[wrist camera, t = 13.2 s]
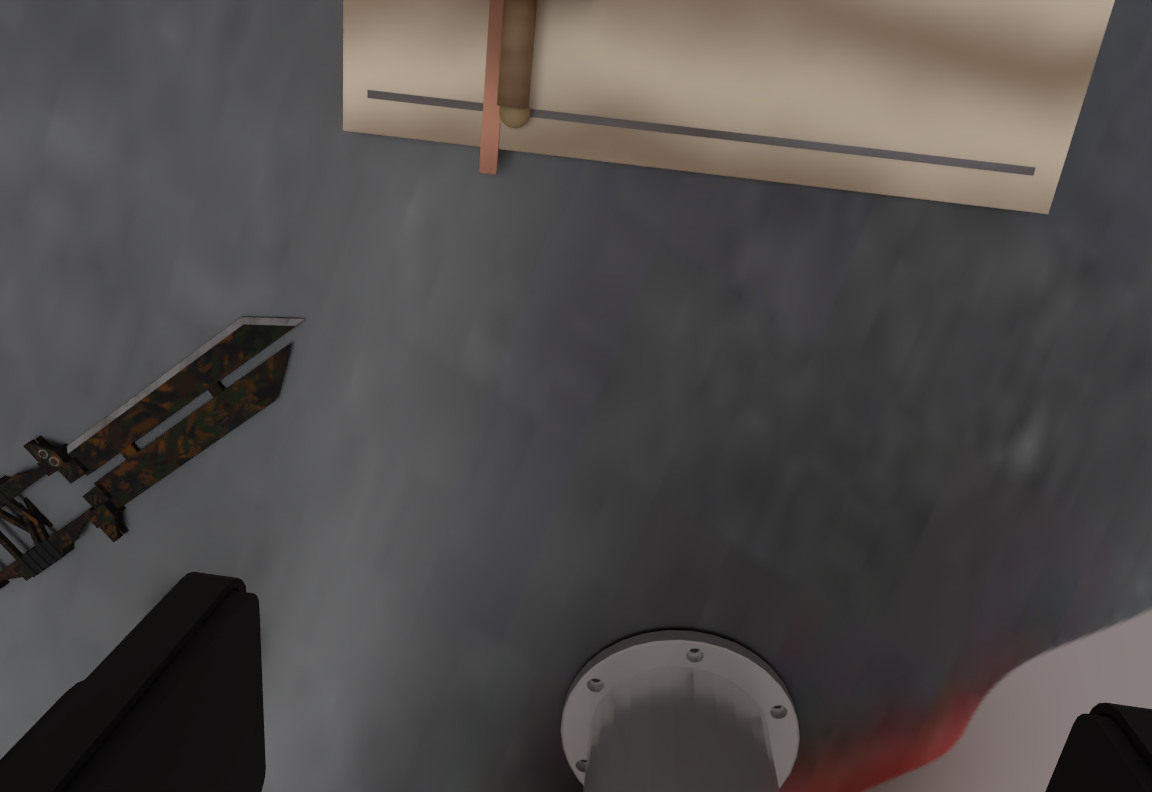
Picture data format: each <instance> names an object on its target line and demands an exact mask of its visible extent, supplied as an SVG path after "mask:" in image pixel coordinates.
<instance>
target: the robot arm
mask: <svg viewBox="0 0 1152 792" xmlns="http://www.w3.org/2000/svg"><path fill="white" fill-rule="evenodd" d="M561 738H562V747H563V750H564V753H565V756H566V759H567V761H568V764H569V766H570V767H571V769H572V771H573V772H574V774H575V776H576V777H577V779H578V780H579V781H580V782H581V783H582V785H583V786H584V790H583V792H780V791H779V789H780V788H781V786H782V785H783V783H784V782H785V780H786V779H787V778H788V776H789V775H790V773H791V771H792V768H793V766H794V763H795V761H796V758H797V755H798V747H799V740H800V736H799V727H798V719H797V715H796V711H795V708H794V704H793V700H792V698H791V696H790V694H789V692H788V690H787V688H786V686H785V684H784V682H783V681H782V680H781V679H780V677H779V676H778V675H777V674H776V673H775V671H774V670H773V669H772V668H771V667H770V666H769V665H768V664H767V663H766V662H764V661H763V660H762V659H761V658H759V657H758V656H757V655H756V654H755V653H753V652H751V651H749V650H747V649H746V648H744V647H742V646H740V645H739V644H737V643H735V642H732V641H729V640H726V639H724V638H721V637H718V636H715V635H711V634H706V633H700V632H695V631H679V630H665V631H658V632H650V633H644V634H641V635H637V636H634V637H631V638H628V639H624V640H622V641H620V642H618V643H616V644H614V645H612V646H610V647H608V648H606V649H604V650H603V651H602V652H600V653H599V654H598V655H597V656H595V657H594V658H593V659H591V660H590V661H589V662H588V663H587V664H586V665H585V666H584V667H583V669H582V670H581V671H580V672H579V673H578V675H577V676H576V677H575V679H574V681H573V683H572V684H571V686H570V688H569V690H568V692H567V695H566V699H565V703H564V707H563V712H562V721H561ZM265 770H266V764H265V739H264V714H263V688H262V663H261V638H260V613H259V600H258V597H257V595H255V594H254V593H247V592H246V586H245V584H244V582H243V580H241V579H239V578H234V577H227V576H220V575H213V574H206V573H199V572H191V573H188V574H187V575H185V576H184V577H183V578H182V579H181V580H180V581H179V582H178V583H177V584H176V585H175V586H174V587H173V588H172V589H171V590H170V591H169V592H168V593H167V594H166V595H165V596H164V598H163V599H162V600H161V601H160V602H159V603H158V604H157V605H156V606H155V607H154V608H153V609H152V610H151V611H150V612H149V613H148V614H147V615H146V616H145V617H144V618H143V619H142V621H141V622H140V623H139V624H138V625H137V626H136V627H135V628H134V629H133V630H132V631H131V632H130V633H129V634H128V635H127V636H126V637H125V638H124V639H123V640H122V641H121V642H120V644H119V645H118V646H117V647H116V648H115V649H114V650H113V651H112V652H111V653H110V654H109V655H108V656H107V657H106V658H105V659H104V660H103V661H102V662H101V663H100V664H99V665H98V667H97V668H96V669H95V670H94V671H93V672H92V673H91V674H90V675H89V676H88V677H87V678H86V679H85V680H83V681H81V682H78V683H77V684H75V685H74V686H73V687H72V688H71V689H69V690H68V691H67V692H66V693H65V694H64V695H63V696H62V697H61V698H60V699H59V700H58V701H57V702H56V703H55V704H54V705H53V706H52V707H51V708H50V709H49V710H48V711H47V712H46V713H45V714H44V715H43V716H42V717H41V718H40V719H39V720H38V721H37V722H36V724H35V725H34V726H33V727H32V728H31V729H30V730H29V731H28V732H27V733H26V734H25V735H24V736H23V737H22V738H21V739H20V740H19V741H18V742H17V743H16V744H15V745H14V746H13V747H12V748H11V749H10V750H9V751H8V752H7V753H6V755H5V756H4V757H3V758H2V759H1V760H0V792H261V791H262V787H263V784H264V779H265ZM1046 792H1152V709H1146V708H1138V707H1132V706H1125V705H1118V704H1111V703H1099V704H1097V705H1096V706H1095V707H1094V708H1092V710H1091V711H1090V713H1089V714H1081V715H1080V716H1079V717H1077V719H1076V720H1075V722H1074V724H1073V726H1072V729H1071V731H1070V734H1069V736H1068V739H1067V741H1066V743H1065V746H1064V748H1063V750H1062V753H1061V755H1060V758H1059V760H1058V763H1057V765H1056V767H1055V770H1054V772H1053V775H1052V777H1051V779H1050V782H1049V784H1048V787H1047V789H1046Z"/></svg>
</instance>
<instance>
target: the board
mask: <svg viewBox="0 0 1152 792" xmlns="http://www.w3.org/2000/svg"><path fill="white" fill-rule="evenodd" d="M1114 1H1115V0H537V11H536V24H535V36H534V48H533V61H532V73H531V85H530V98H529V107H530V118H529V120H528V122H527V123H526V124H525V125H524V126H522V127H520V128H510V127H508V126H506V125H505V124H504V123H503V122H502V120H501V118H500V115H499V108H500V106H498V105H497V94H498V79H499V64H500V49H501V35H502V20H503V5H504V0H344V13H343V131H352V132H360V133H368V134H377V135H385V136H394V137H402V138H411V139H419V140H427V141H436V142H444V143H453V144H461V145H470V146H478V147H481V150H480V166H479V173H486V174H494V175H497V162H498V149H503V150H512V151H520V152H529V153H537V154H546V155H554V156H562V157H571V158H579V159H588V160H596V161H605V162H613V163H621V164H630V165H638V166H647V167H655V168H664V169H672V170H680V171H689V172H697V173H706V174H714V175H723V176H731V177H739V178H748V179H756V180H765V181H773V182H782V183H790V184H798V185H807V186H815V187H824V188H832V189H841V190H849V191H857V192H866V193H874V194H883V195H891V196H900V197H908V198H917V199H925V200H933V201H942V202H950V203H959V204H967V205H976V206H984V207H992V208H1001V209H1009V210H1018V211H1026V212H1035V213H1043V214H1048V213H1049V210H1050V207H1051V204H1052V200H1053V197H1054V194H1055V191H1056V187H1057V184H1058V181H1059V178H1060V175H1061V171H1062V168H1063V165H1064V162H1065V159H1066V155H1067V152H1068V149H1069V146H1070V142H1071V139H1072V136H1073V133H1074V130H1075V126H1076V123H1077V120H1078V117H1079V114H1080V110H1081V107H1082V104H1083V101H1084V97H1085V94H1086V91H1087V88H1088V85H1089V81H1090V78H1091V75H1092V72H1093V69H1094V65H1095V62H1096V59H1097V56H1098V52H1099V49H1100V46H1101V43H1102V40H1103V36H1104V33H1105V30H1106V27H1107V24H1108V20H1109V17H1110V14H1111V11H1112V8H1113V4H1114Z"/></svg>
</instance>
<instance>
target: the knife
mask: <svg viewBox="0 0 1152 792" xmlns="http://www.w3.org/2000/svg"><path fill="white" fill-rule="evenodd" d="M303 320H305V319H293V318H259V317H241V318H240V319H238V320H237V321H236V322H234V323H233V324H231V325H230V326H229V327H227V328H226V329H225V330H223V331H222V332H221V333H219V334H218V335H217V336H215V337H214V338H213V339H211V340H210V341H209V342H207V343H206V344H204V345H203V346H202V347H200V348H199V349H198V350H196V351H195V352H194V353H192V354H191V355H190V356H188V357H187V358H186V359H184V360H183V361H182V362H180V363H179V364H177V365H176V366H175V367H173V368H172V369H171V370H169V371H168V372H167V373H165V374H164V375H163V376H161V377H160V378H159V379H157V380H156V381H155V382H153V383H152V384H150V385H149V386H148V387H146V388H145V389H144V390H142V391H141V392H140V393H138V394H137V395H136V396H134V397H133V398H132V399H130V400H129V401H128V402H126V403H125V404H123V405H122V406H121V407H119V408H118V409H117V410H115V411H114V412H113V413H111V414H110V415H109V416H107V417H106V418H105V419H103V420H102V421H101V422H99V423H98V424H96V425H95V426H94V427H92V428H91V429H90V430H88V431H87V432H86V433H84V434H83V435H82V436H80V437H79V438H78V439H76V440H75V441H74V442H72V443H71V444H70V445H67V444H64V445H63V446H61V447H59V448H58V449H55V448H52V447H51V446H50V445H49V444H48V443H47V442H46V441H45V440H44V439H43V437H42V436H39V437H38V438H36V440H37V441H38V442H39V443H40V444H39V443H37V442H36V441H35V440H32V441H30V442H28V443H27V444H25V445H24V447H25V448H26V449H27V450H28V452H29V453H30V454H31V455H32V456H33V457H34V458H35V459H36V460H37V461H38V462H39V463H37V464H38V465H39V467H40V468H38V469H37V470H34V471H29V472H23V473H17V474H15V475H14V476H13V477H8V476H6V475H5V476H4V477H2V478H0V517H1V518H2V519H4V520H6V521H8V522H10V523H12V524H14V525H16V526H17V527H19V528H21V529H23V530H25V531H27V532H29V533H30V535H31V537H32V539H33V541H34V544H35V547H33V548H32V549H30V550H29V551H27V552H26V553H25V554H22V553H21V552H20V551H19V550H18V549H17V548H16V547H15V545H14V544H13V543H12V542H11V541H10V540H9V539H8V538H7V537H6V536H5V535H4V534H3V533H2V532H1V531H0V544H1V545H2V546H3V547H4V548H5V549H6V550H7V551H8V552H9V553H10V554H11V555H12V556H13V557H14V558H15V559H16V560H17V561H15V562H14V563H12V564H11V565H10V566H8V567H7V568H5V569H4V570H2V571H1V572H0V589H1V588H2V587H4V586H5V585H6V584H8V583H9V581H8V580H7V579H13V578H20V577H23V578H24V579H25V580H26V581H27V580H28V579H30V578H31V577H35V576H36V575H38V574H39V573H41V572H42V571H43V570H45V569H46V568H48V567H49V566H51V565H52V564H54V563H55V562H57V561H58V560H59V559H61V558H62V557H64V556H65V555H66V554H67V553H69V552H70V551H71V550H73V549H74V541H76V540H77V539H78V538H79V536H80V533H81V531H82V529H83V526H84V524H85V522H86V521H88V520H90V521H91V522H92V523H93V524H94V525H95V526H96V527H97V528H98V527H100V528H101V529H102V531H103V532H104V533H105V534H106V535H107V536H108V537H109V538H110V539H111V540H112V541H113V542H115V541H116V540H118V539H119V538H120V537H121V536H123V534H124V533H126V532H127V531H129V530H128V529H127V528H126V527H125V526H124V525H123V523H122V522H121V521H120V520H119V519H118V515H117V514H119V513H120V512H121V511H122V510H124V509H125V508H126V507H125V506H124V505H125V504H126V503H128V502H129V501H131V500H132V499H133V498H135V497H136V496H138V495H139V494H141V493H142V492H144V491H145V490H146V489H148V488H149V487H151V486H152V485H154V484H155V483H157V482H158V481H159V480H161V479H162V478H164V477H165V476H167V475H168V474H170V473H171V472H172V471H174V470H175V469H177V468H178V467H180V466H181V465H183V464H184V463H185V462H187V461H188V460H190V459H191V458H193V457H194V456H196V455H197V454H198V453H200V452H201V451H203V450H204V449H206V448H207V447H209V446H210V445H211V444H213V443H214V442H216V441H217V440H219V439H220V438H222V437H223V436H224V435H226V434H227V433H229V432H230V431H232V430H233V429H235V428H236V427H238V426H239V425H240V424H242V423H243V422H245V421H246V420H248V419H249V418H251V417H252V416H253V415H255V414H256V413H258V412H259V411H261V410H262V409H264V408H265V407H266V406H268V405H269V404H271V403H272V402H274V401H275V400H276V398H277V394H278V390H279V386H280V382H281V379H282V375H283V371H284V367H285V363H286V359H287V356H288V352H289V348H290V344H291V343H290V344H289V345H287V346H286V347H285V348H283V349H282V350H280V351H279V352H278V353H276V354H275V355H273V356H272V357H271V358H269V359H268V360H266V361H265V362H264V363H262V364H261V365H259V366H258V367H257V368H255V369H254V370H252V371H251V372H250V373H248V374H247V375H245V376H244V377H243V378H241V379H240V380H238V381H237V382H235V383H234V384H233V385H231V386H230V387H228V388H227V389H226V390H224V389H223V388H222V386H221V385H220V384H219V383H218V381H220V380H221V379H223V378H224V377H225V376H227V375H228V374H229V373H231V372H232V371H234V370H235V369H236V368H238V367H239V366H241V365H242V364H243V363H245V362H246V361H248V360H249V359H250V358H252V357H253V356H255V355H256V354H257V353H259V352H260V351H261V350H263V349H264V348H266V347H267V346H268V345H270V344H271V343H273V342H274V341H275V340H277V339H278V338H280V337H281V336H282V335H284V334H285V333H287V332H288V331H289V330H291V329H292V328H293V327H295V326H296V325H298V324H299V323H300V322H302V321H303ZM207 389H208V391H209V392H210V393H211V394H212V396H213V397H214V398H213V399H212V400H210V401H209V402H207V403H206V404H205V405H203V406H202V407H200V408H199V409H198V410H196V411H195V412H193V413H192V414H191V415H189V416H188V417H186V418H185V419H184V420H182V421H181V422H179V423H178V424H177V425H175V426H174V427H172V428H171V429H170V430H168V431H167V432H165V433H164V434H163V435H161V436H160V437H158V438H157V439H156V440H154V441H153V442H151V443H150V444H148V445H147V446H146V447H144V448H143V449H141V450H140V451H138V450H137V449H136V448H135V446H134V445H133V444H132V443H133V442H135V441H136V440H138V439H139V438H140V437H142V436H143V435H145V434H146V433H147V432H149V431H150V430H152V429H153V428H154V427H156V426H157V425H159V424H160V423H161V422H163V421H164V420H165V419H167V418H168V417H170V416H171V415H172V414H174V413H175V412H177V411H178V410H179V409H181V408H182V407H184V406H185V405H186V404H188V403H189V402H191V401H192V400H193V399H195V398H196V397H197V396H199V395H200V394H202V393H203V392H204V391H206V390H207ZM118 453H121V454H122V455H123V457H124V458H125V459H126V461H125V462H123V463H122V464H120V465H119V466H118V467H116V468H115V469H113V470H112V471H111V472H109V473H108V474H106V475H105V476H104V477H102V478H101V479H99V480H98V481H97V482H95V483H94V484H95V485H96V487H95V488H93V489H92V490H91V491H89V492H88V493H86V494H85V495H84V496H83V497H84V498H85V500H86V501H87V502H88V503H89V504H90V505H91V506H92V508H90V509H89V510H87V511H86V512H85V513H83V514H82V515H81V516H79V517H78V518H77V519H75V520H74V521H72V522H71V523H69V524H68V525H67V526H65V527H64V528H62V529H61V530H59V531H58V532H57V533H55V534H54V535H52V536H51V537H49V535H48V533H47V530H46V528H45V526H44V524H45V525H47V526H48V527H51V526H53V525H52V523H51V522H50V521H49V520H48V519H47V518H46V517H45V516H44V515H43V514H41V513H39V512H38V510H37V508H36V507H35V506H34V505H33V503H32V502H31V501H30V500H29V499H28V498H27V497H26V498H25V499H24V502H25V504H26V507H27V509H26V508H25V507H24V506H23V505H22V503H21V502H20V503H18V502H17V501H16V500H14V499H13V498H14V497H15V496H16V495H18V494H19V493H20V492H22V491H23V490H24V489H26V488H27V487H28V486H30V485H31V484H33V483H34V482H35V481H37V480H38V479H39V478H41V477H42V476H44V475H45V474H47V475H48V476H50V475H51V474H53V473H54V472H56V471H57V470H58V471H59V472H60V473H61V474H62V475H63V476H64V477H65V478H66V479H67V480H68V481H69V482H70V483H72V482H74V481H75V480H77V479H78V478H80V477H81V476H83V475H84V474H86V475H89V474H90V473H92V472H93V471H95V470H96V469H97V468H99V467H100V466H101V465H103V464H104V463H106V462H107V461H108V460H110V459H111V458H113V457H114V456H115V455H117V454H118ZM6 504H7V505H9V506H10V507H12V508H13V509H15V510H16V511H18V512H19V513H21V515H22V517H23V519H24V521H23V520H21V519H19V518H17V517H15V516H13V515H12V514H10V513H8V512H6V511H4V510H2V509H1V508H2V507H3V506H5V505H6ZM43 523H44V524H43ZM120 531H121V532H122V533H123V534H122V533H121V532H120Z"/></svg>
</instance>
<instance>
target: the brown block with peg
mask: <svg viewBox="0 0 1152 792" xmlns="http://www.w3.org/2000/svg"><path fill="white" fill-rule="evenodd" d="M536 11H537V0H504V5H503V20H502V35H501V49H500V64H499V79H498V94H497V105H498V106H500V108H499V115H500V118H501V120H502V122H503V123H504V124H505V125H506V126H508V127H510V128H520V127H522V126H524V125H525V124H526V123H527V122H528V120H529V118H530V107H529V98H530V85H531V73H532V61H533V48H534V36H535V24H536Z"/></svg>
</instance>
